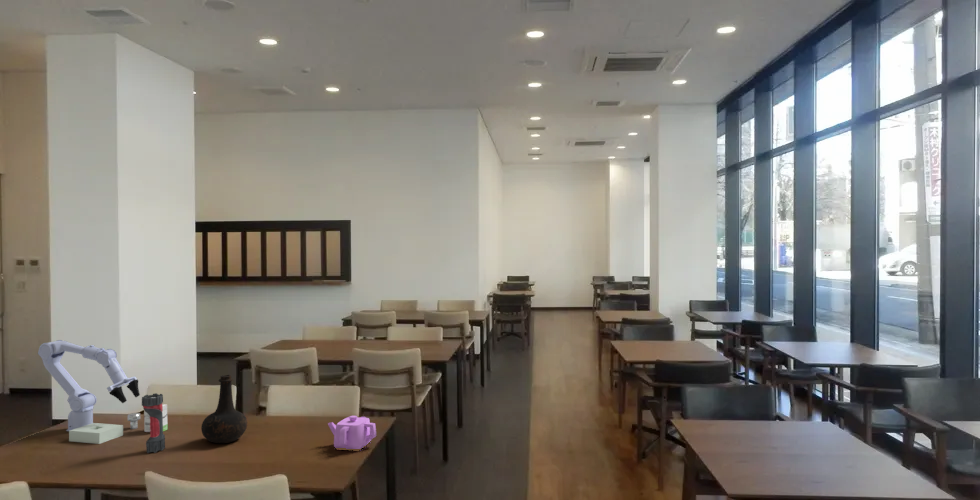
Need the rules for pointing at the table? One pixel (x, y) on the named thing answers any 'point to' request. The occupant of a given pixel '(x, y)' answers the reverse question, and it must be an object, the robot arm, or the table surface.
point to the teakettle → (353, 432)
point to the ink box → (147, 419)
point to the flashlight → (154, 422)
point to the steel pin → (133, 420)
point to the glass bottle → (224, 417)
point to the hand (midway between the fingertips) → (131, 399)
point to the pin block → (96, 433)
